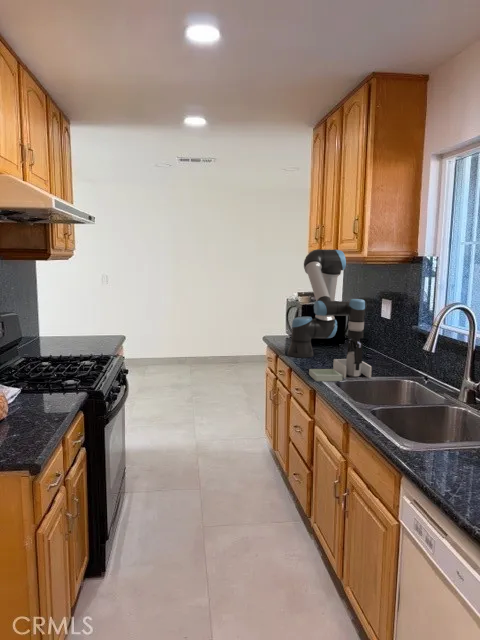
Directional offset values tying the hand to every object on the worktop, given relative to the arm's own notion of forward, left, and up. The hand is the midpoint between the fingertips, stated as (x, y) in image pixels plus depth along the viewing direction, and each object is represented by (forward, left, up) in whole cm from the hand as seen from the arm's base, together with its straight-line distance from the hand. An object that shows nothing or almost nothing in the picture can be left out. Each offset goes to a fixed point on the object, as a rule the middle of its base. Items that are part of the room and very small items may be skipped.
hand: (353, 374), depth 242 cm
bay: (-2, 0, -1) cm, 2 cm away
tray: (+4, -16, -1) cm, 17 cm away
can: (0, 0, -1) cm, 1 cm away
